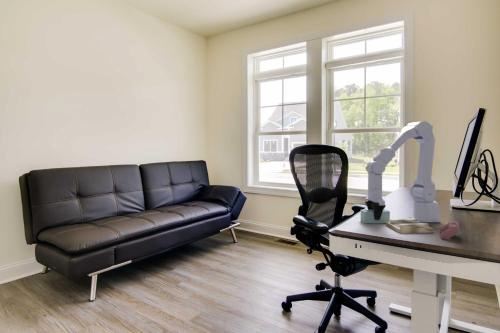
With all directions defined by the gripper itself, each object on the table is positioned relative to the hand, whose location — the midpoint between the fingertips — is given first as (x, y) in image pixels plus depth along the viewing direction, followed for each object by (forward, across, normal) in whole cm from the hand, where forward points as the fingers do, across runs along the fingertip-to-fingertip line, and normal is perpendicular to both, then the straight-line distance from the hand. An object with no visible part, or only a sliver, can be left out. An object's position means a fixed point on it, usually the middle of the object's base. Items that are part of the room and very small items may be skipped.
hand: (374, 218), depth 131 cm
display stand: (+2, +12, +8) cm, 15 cm away
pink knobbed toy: (+2, +23, +18) cm, 29 cm away
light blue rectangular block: (+1, 0, 0) cm, 1 cm away
